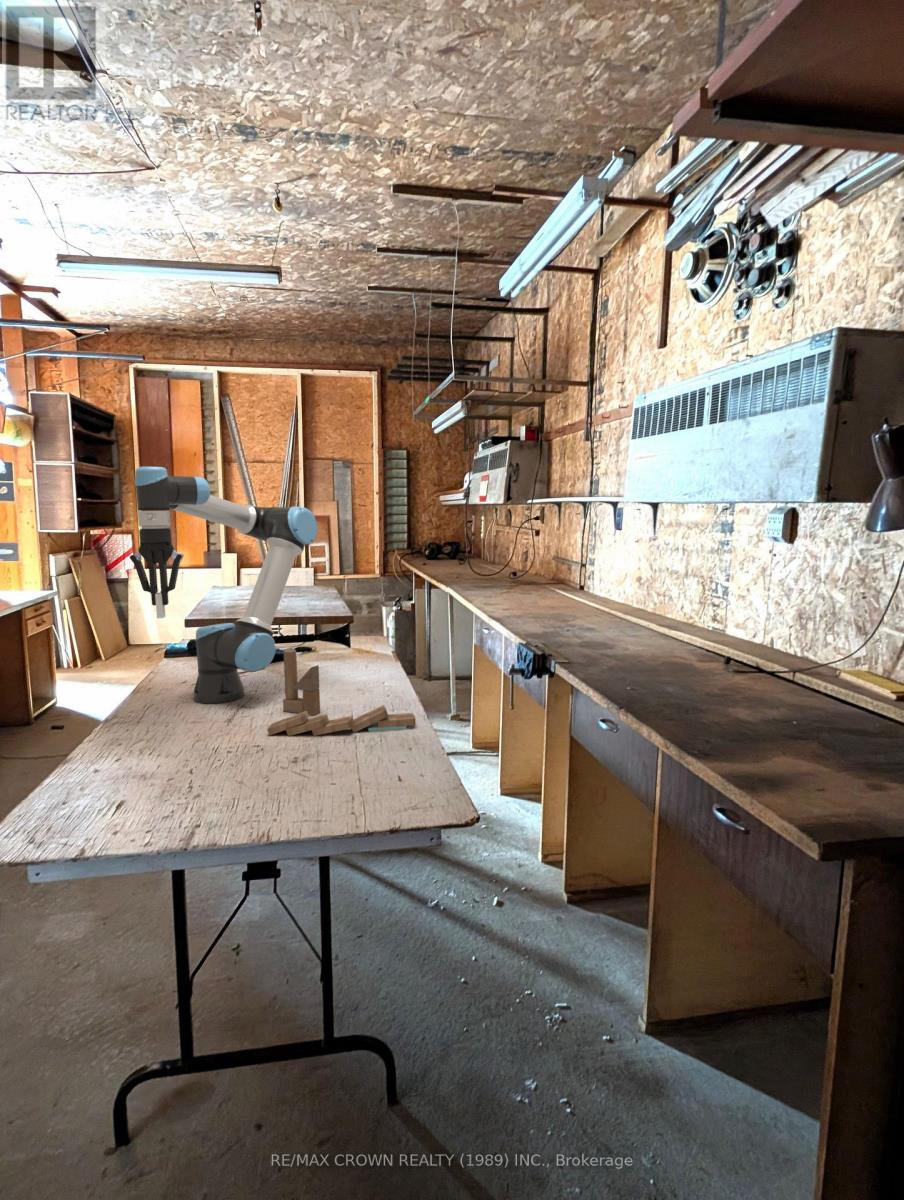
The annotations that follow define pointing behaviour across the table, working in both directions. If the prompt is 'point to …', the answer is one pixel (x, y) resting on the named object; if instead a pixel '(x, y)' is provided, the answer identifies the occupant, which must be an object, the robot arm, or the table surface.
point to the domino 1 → (288, 723)
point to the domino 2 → (309, 725)
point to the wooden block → (300, 687)
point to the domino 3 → (335, 725)
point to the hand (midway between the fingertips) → (161, 617)
